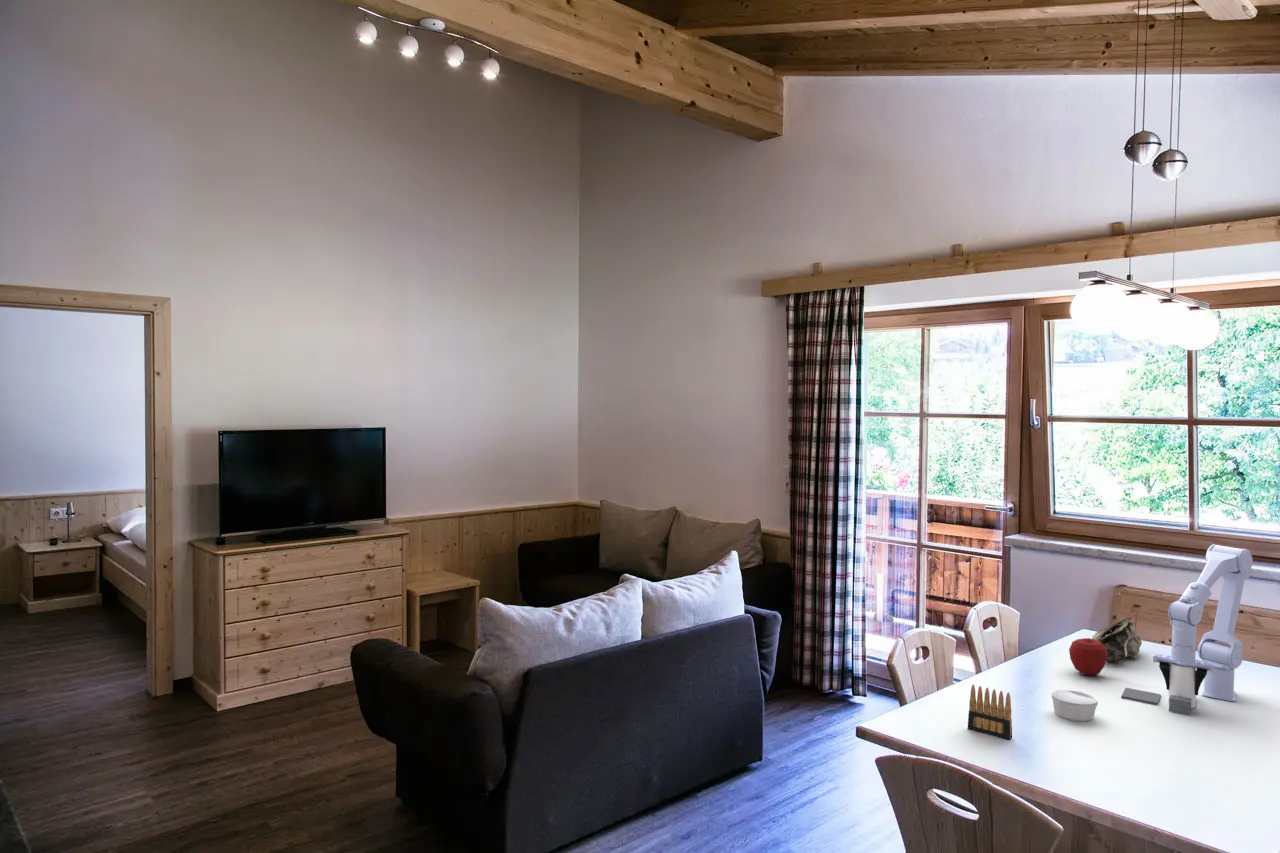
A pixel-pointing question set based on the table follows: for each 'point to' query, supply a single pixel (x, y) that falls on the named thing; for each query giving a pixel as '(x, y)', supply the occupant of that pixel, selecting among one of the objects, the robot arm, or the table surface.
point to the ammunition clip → (990, 714)
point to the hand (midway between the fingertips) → (1182, 691)
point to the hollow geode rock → (1119, 641)
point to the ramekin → (1074, 705)
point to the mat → (1141, 696)
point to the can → (1182, 682)
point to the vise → (1180, 704)
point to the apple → (1088, 656)
